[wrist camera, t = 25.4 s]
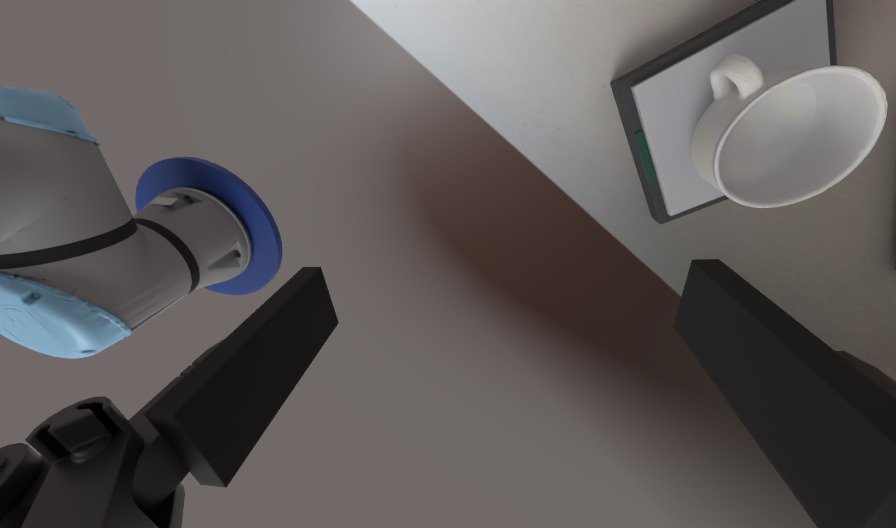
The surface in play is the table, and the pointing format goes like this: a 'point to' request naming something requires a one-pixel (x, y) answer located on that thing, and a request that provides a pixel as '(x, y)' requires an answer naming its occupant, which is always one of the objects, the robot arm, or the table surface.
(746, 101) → the teacup
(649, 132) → the scale
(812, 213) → the table surface
